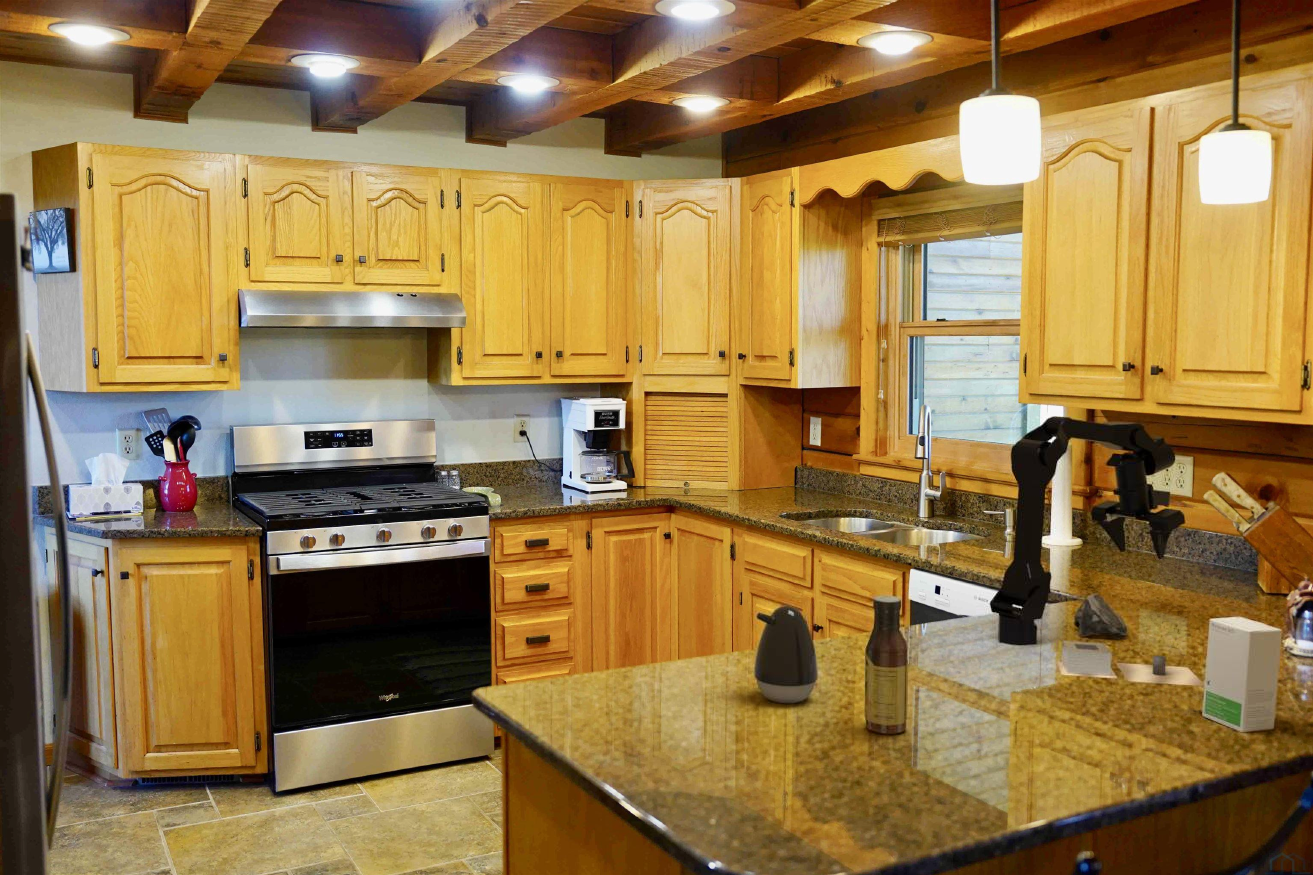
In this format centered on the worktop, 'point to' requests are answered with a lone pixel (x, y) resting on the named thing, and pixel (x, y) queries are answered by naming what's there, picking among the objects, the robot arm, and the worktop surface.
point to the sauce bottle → (886, 670)
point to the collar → (1086, 658)
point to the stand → (1081, 674)
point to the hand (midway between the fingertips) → (1141, 554)
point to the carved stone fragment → (1098, 618)
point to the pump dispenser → (785, 657)
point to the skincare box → (1242, 673)
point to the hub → (1159, 673)
